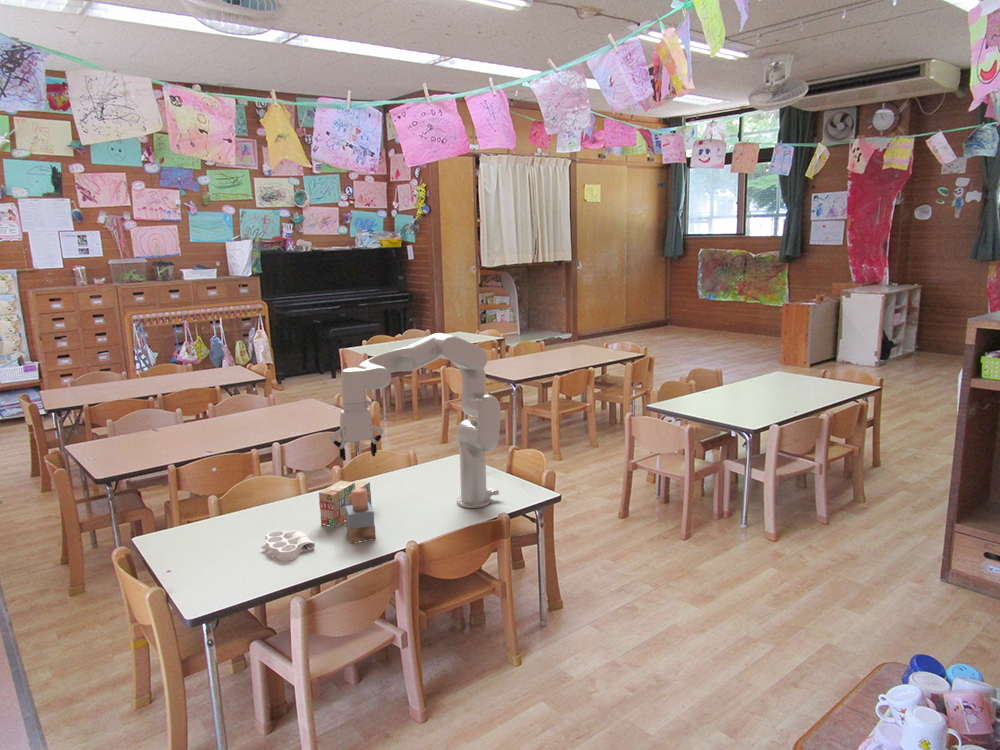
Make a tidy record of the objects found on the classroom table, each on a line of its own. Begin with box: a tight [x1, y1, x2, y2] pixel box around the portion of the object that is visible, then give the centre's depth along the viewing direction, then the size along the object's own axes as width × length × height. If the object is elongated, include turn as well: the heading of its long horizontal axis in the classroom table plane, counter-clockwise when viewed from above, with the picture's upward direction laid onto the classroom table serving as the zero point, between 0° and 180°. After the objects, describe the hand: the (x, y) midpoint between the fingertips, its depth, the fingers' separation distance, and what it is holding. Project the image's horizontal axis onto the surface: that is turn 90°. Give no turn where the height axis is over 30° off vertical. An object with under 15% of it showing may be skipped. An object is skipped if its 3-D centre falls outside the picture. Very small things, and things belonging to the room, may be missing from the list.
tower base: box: [345, 521, 377, 544], centre depth 232 cm, size 8×8×5 cm
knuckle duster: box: [260, 529, 316, 562], centre depth 224 cm, size 3×18×15 cm
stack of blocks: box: [318, 480, 372, 528], centre depth 249 cm, size 21×6×12 cm, turn 155°
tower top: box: [345, 503, 375, 529], centre depth 231 cm, size 8×8×5 cm
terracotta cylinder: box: [351, 488, 368, 511], centre depth 230 cm, size 5×5×6 cm
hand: (358, 457), depth 227 cm, fingers open, 9 cm apart
